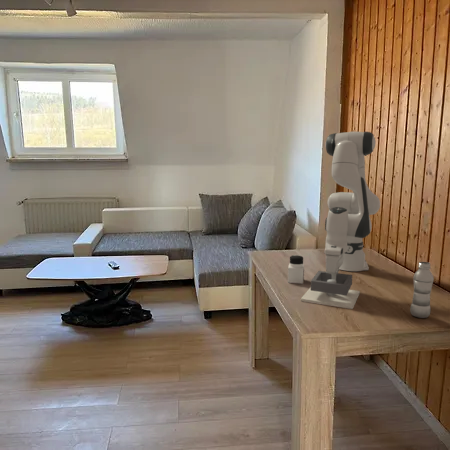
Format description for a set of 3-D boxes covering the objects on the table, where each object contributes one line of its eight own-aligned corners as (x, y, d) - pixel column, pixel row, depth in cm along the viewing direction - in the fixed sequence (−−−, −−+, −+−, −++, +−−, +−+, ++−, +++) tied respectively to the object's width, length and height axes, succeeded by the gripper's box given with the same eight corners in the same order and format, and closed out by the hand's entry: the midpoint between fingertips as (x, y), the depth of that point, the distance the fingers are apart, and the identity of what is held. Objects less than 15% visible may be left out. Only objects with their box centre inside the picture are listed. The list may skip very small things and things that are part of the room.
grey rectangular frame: (318, 279, 176) (318, 270, 176) (351, 284, 171) (352, 274, 170) (310, 290, 164) (310, 280, 163) (346, 295, 158) (346, 285, 157)
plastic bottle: (406, 313, 151) (410, 260, 147) (423, 313, 151) (428, 260, 148) (415, 320, 144) (420, 265, 141) (433, 319, 145) (439, 265, 142)
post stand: (312, 286, 181) (313, 271, 180) (359, 293, 173) (360, 277, 171) (300, 301, 163) (301, 284, 162) (352, 309, 155) (353, 291, 154)
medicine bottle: (303, 283, 185) (304, 258, 183) (287, 282, 186) (288, 257, 184) (303, 279, 192) (304, 254, 190) (288, 278, 193) (289, 253, 191)
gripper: (333, 241, 181) (331, 271, 183) (323, 251, 162) (322, 284, 165) (348, 242, 178) (346, 273, 180) (339, 252, 160) (338, 286, 162)
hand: (334, 278), depth 172 cm, fingers closed on grey rectangular frame, 2 cm apart
